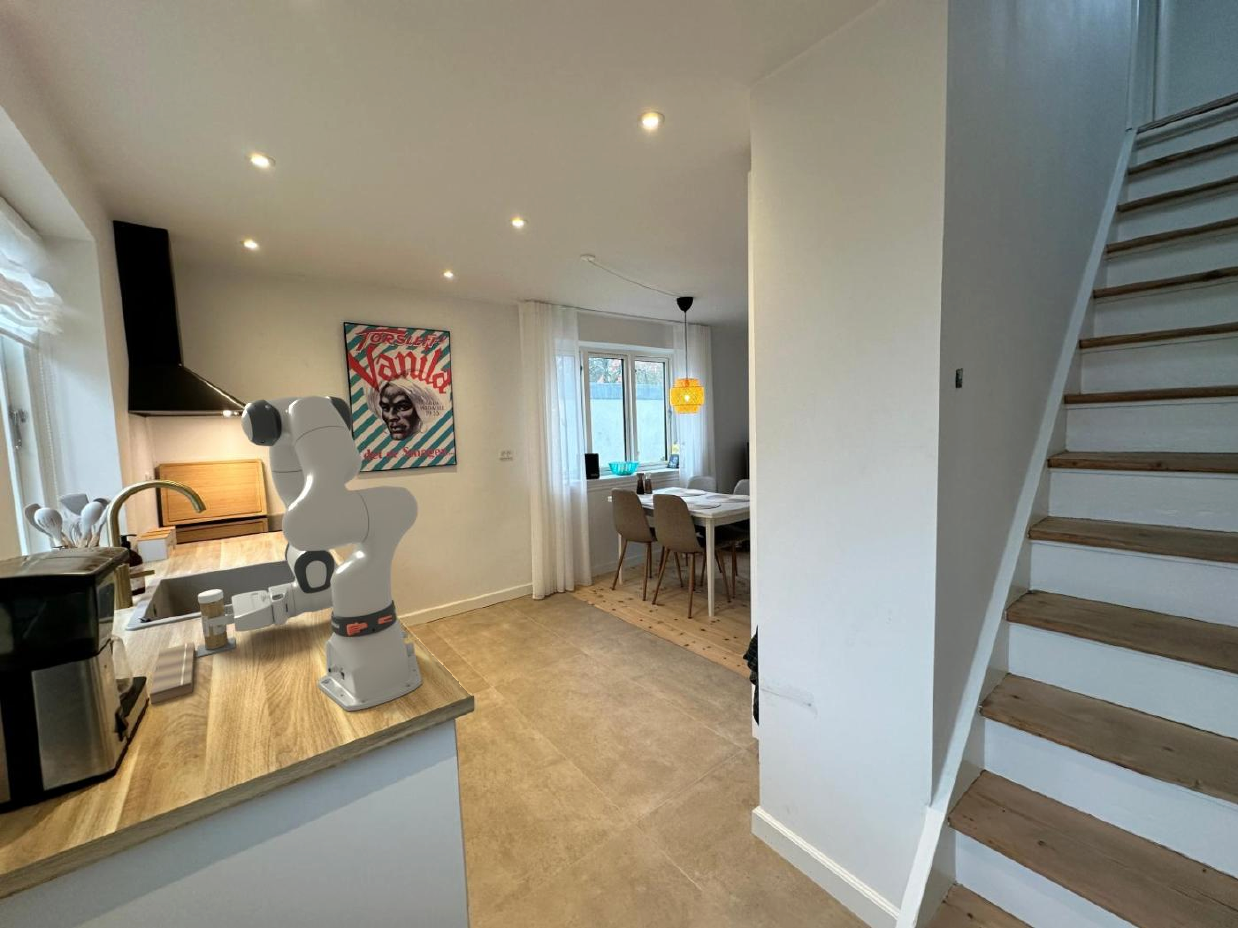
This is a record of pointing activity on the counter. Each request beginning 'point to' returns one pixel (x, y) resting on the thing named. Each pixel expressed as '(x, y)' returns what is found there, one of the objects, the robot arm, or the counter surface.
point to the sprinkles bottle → (210, 608)
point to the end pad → (203, 651)
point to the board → (173, 673)
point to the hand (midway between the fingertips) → (208, 618)
